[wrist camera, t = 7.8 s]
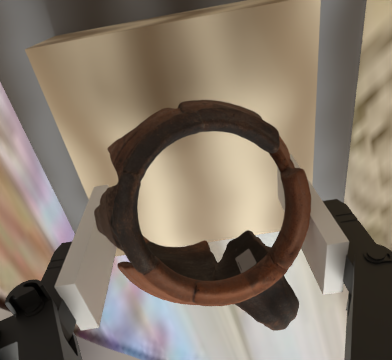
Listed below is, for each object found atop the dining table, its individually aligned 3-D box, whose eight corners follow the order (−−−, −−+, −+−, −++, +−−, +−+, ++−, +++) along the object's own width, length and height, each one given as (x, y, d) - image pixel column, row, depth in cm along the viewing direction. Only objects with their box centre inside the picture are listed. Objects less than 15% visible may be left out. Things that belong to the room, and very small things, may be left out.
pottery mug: (70, 196, 18) (19, 220, 10) (186, 83, 19) (228, 21, 11) (214, 328, 20) (271, 438, 12) (312, 219, 21) (426, 253, 13)
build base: (363, -78, 20) (433, -101, 15) (336, 198, 32) (369, 244, 26) (-27, -2, 21) (-99, 3, 16) (85, 238, 33) (67, 289, 27)
